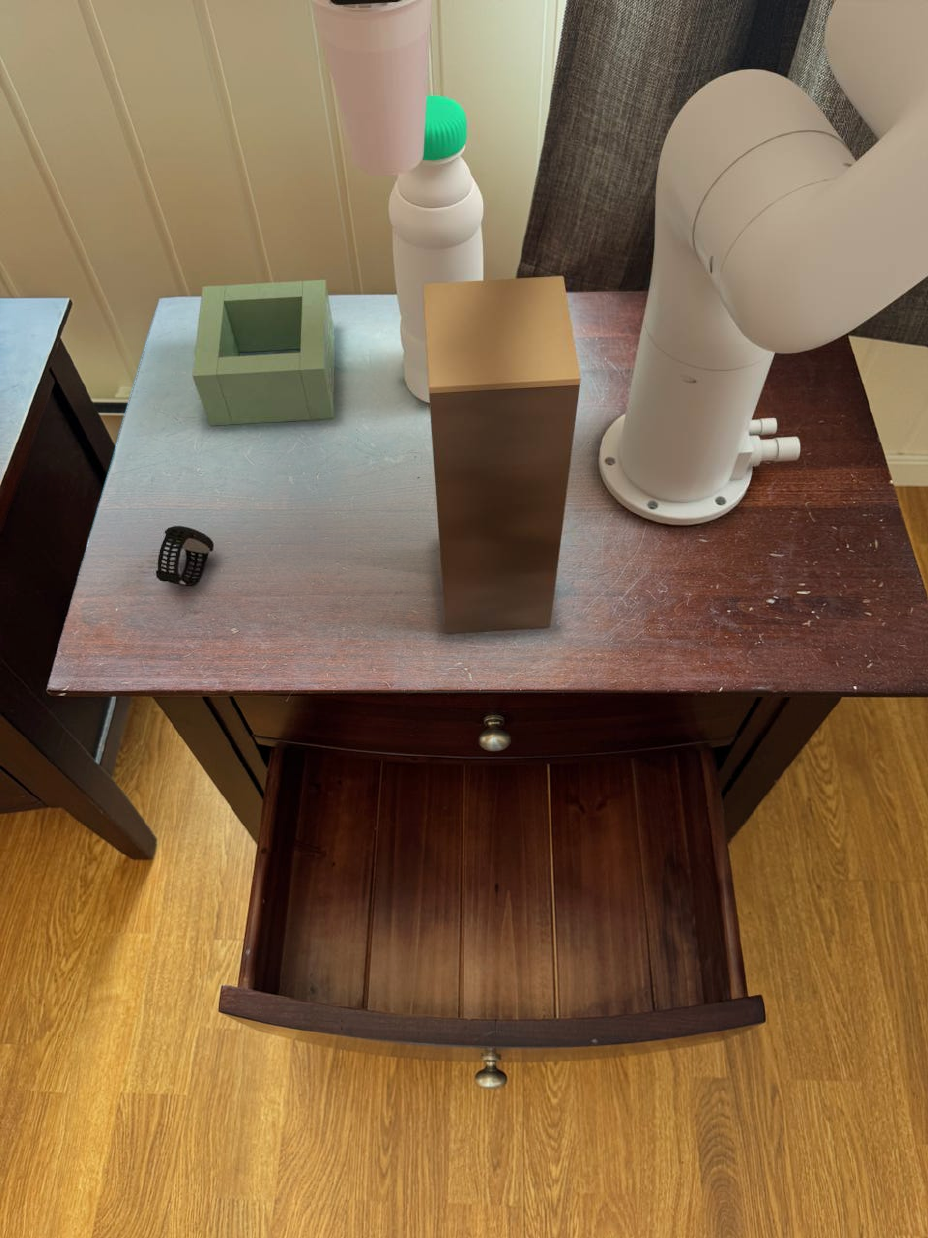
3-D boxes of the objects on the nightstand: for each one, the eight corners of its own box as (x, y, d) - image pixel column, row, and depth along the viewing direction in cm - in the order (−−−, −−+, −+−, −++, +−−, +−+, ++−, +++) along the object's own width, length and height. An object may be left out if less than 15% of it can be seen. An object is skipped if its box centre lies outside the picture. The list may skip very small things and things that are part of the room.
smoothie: (431, 199, 49) (409, -124, 37) (312, 184, 50) (252, -136, 37) (461, 125, 52) (449, -196, 40) (348, 112, 53) (303, -205, 41)
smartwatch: (229, 565, 76) (214, 528, 71) (184, 611, 74) (165, 575, 69) (192, 541, 77) (174, 503, 73) (146, 585, 75) (125, 548, 70)
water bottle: (481, 350, 87) (481, 77, 66) (485, 407, 84) (486, 139, 62) (404, 353, 87) (379, 81, 66) (405, 410, 84) (378, 143, 62)
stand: (334, 331, 89) (325, 279, 84) (333, 418, 83) (324, 368, 78) (218, 338, 89) (202, 286, 84) (210, 425, 83) (192, 375, 78)
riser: (539, 541, 76) (563, 275, 54) (550, 627, 72) (581, 378, 50) (440, 547, 76) (422, 283, 54) (445, 634, 72) (428, 387, 50)
